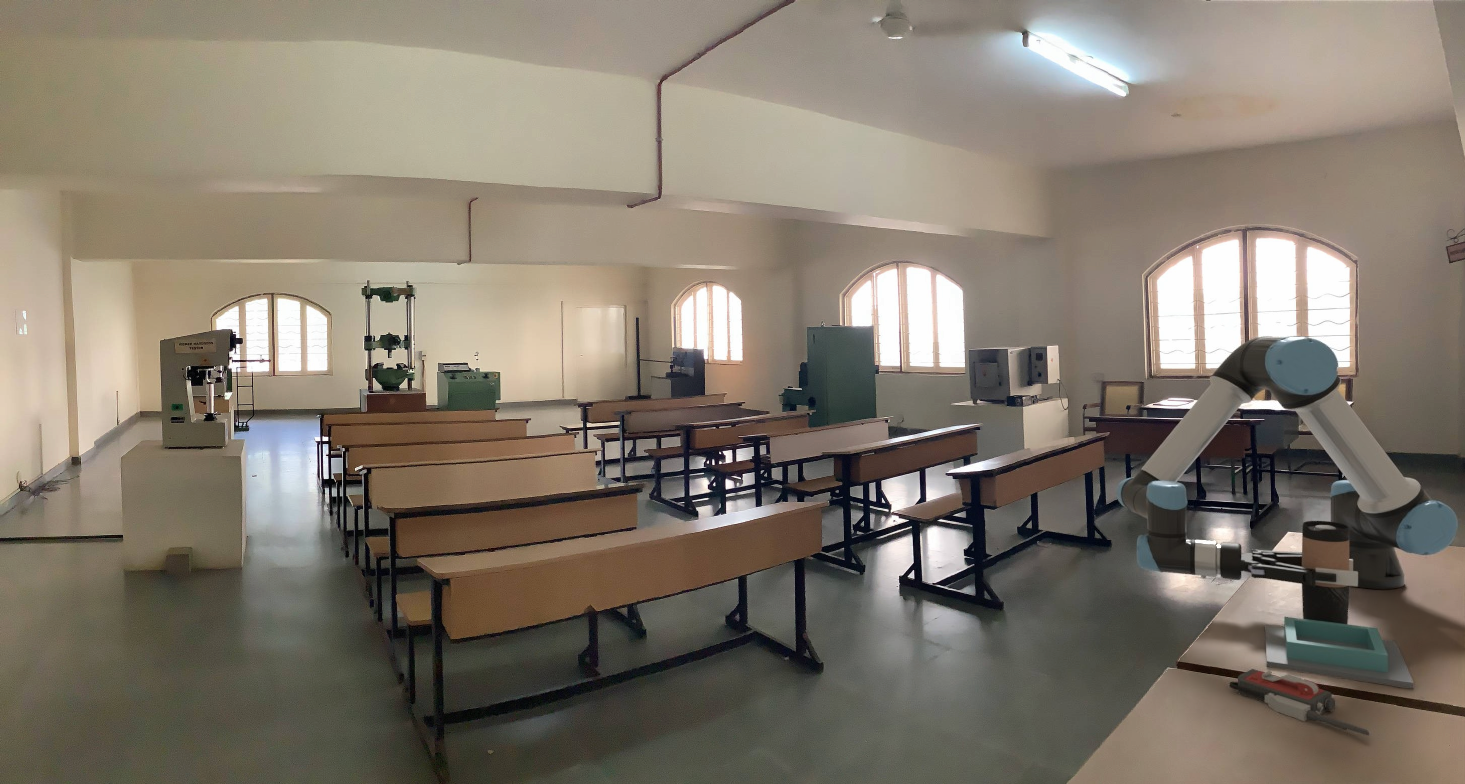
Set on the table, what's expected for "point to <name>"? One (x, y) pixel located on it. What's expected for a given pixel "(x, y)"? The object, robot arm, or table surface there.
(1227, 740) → the table surface
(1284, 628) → the mug dock
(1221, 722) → the table surface
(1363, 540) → the robot arm
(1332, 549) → the travel mug
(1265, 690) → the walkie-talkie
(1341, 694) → the table surface
